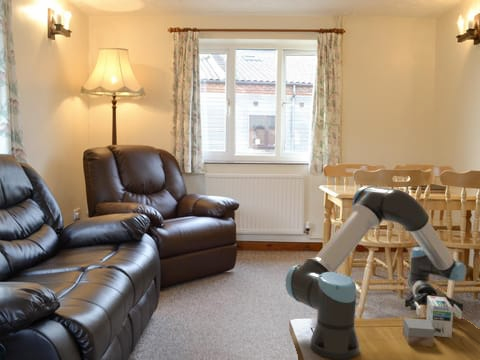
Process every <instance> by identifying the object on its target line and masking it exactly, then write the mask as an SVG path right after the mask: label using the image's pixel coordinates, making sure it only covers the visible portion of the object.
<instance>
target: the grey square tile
mask: <svg viewBox="0 0 480 360" xmlns="http://www.w3.org/2000/svg"><path fill="white" fill-rule="evenodd" d="M402 322H403V323H402V328H403V327H404V329H405V331H406V333H407V335H408V336H410V337H423V338H434V339H435V336H434V328H433V327H432V325H431V324H430V322H429V321H428V320H426V318H410V317H409V318H407V317H403V321H402Z"/></svg>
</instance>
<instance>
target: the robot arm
mask: <svg viewBox="0 0 480 360" xmlns="http://www.w3.org/2000/svg"><path fill="white" fill-rule="evenodd" d="M429 220H430V217H429V214H428V213H427V211H426V210H425V208H424V207H423V206H422V205H421V204H420V202H418V200H416V199H415V198H414V197H413V196H411V195H410V194H409V193H407V192H405V191H403V190H400V189H394V188H388V187H381V186H380V187H379V186H376V185H365V186H362V187H360V188H359V189H358V190H356V191H355V193H354V194H353V199H352V200H351V214H350V215H349V216H348V217H347V219H346V220H345V221H344V222H343V223H342V224H341V225H340V227H339V228H337V230H336V232H335V233H334V234H333V235H332V236H331V237H330V238H329V240H328V241H327V243H325V245H323V247H322V248H321V250H320V251H319V252H318V253H317V254H316V255H315V257H309V258H307V259H306V261H304V263H303V264H295V265H293V266H292V267H291V268H289V270H288V272H287V274H286V275H285V285H284V286H285V290H286V293H287V294H288V295H289V296H290V297H291V298H293V300H295V301H296V302H298V303H302V304H304V305H306V306H308V307H310V308H312V309H314V310H316V312H317V315H316V318H317V319H316V325H315V328H314V330H313V332H312V336H311V338H310V349H311V350H312V351H313V352H314V353H315V354H317V355H318V356H320V357H323V358H326V359H330V360H349V359H353V358H356V357H357V356H358V355H359V352H360V342H359V340H358V335H357V332H356V329H355V320H356V319H355V318H356V317H355V316H356V305H357V288H356V287H357V286H356V283H355V281H354V280H353V278H351V277H350V276H348V275H345V274H343V273H340V272H339V273H338V272H337V271H338V270H339V269H340V267H341V266H342V265H343V263H344V262H345V261H346V260H347V258H348V257H349V256H350V255H351V253H352V252H353V251H354V250H355V248H356V247H357V246H358V245H359V244H360V243H361V241H362V240H363V239H364V237H365V236H366V235H367V233H369V231H370V230H371V229H375V228H377V227H379V226H380V225H381V223H382V222H383V221H388V222H393V223H396V224H397V225H398V224H399V225H400V226H401V227H402V228H403V229H404V230H405V231H407V232H409V233H410V235H412V237H413V239H414V240H415V241H416V242H417V244H418V245H419V246H415V247H412V249H411V253H410V269H409V275H408V277H407V285H408V287H409V289H410V290H411V292H410V293H409V296H407V297H406V298H405V300H404V307H406V308H409V307H410V308H409V309H410V311H415V313H416V314H417V316H419V317H421V314H422V313H421V311H422V310H421V306H427V296H435V297H441V296H440V295H438V293H437V291H436V289H435V288H434V287H433V286H432V285H431V283H430V275H433V276H436V277H439V278H443V279H444V280H449V281H453V282H456V283H457V282H460V283H461V282H462V281H463V280H464V279H465V277H466V276H467V267H466V265H465V263H463V262H460V261H456V260H455V259H454V258H453V255H452V254H451V253H450V251H449V249H448V248H447V247H446V245H445V243H444V242H443V241H442V239H441V238H440V236H439V235H438V233H437V231H436V230H435V228H434V227H433V226H432V223H430V221H429ZM443 297H446V298H447V300H448V302H449V303H450V304H451V306H452V307H453V314H455V316H456V318H457V319H458V320H461V319H462V316H463V315H462V314H463V311H464V303H462V302H459V301H457V300H455V299H453V298H451V297H449V296H448V295H446V294H445V295H443ZM420 305H421V306H420Z"/></svg>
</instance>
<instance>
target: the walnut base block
mask: <svg viewBox="0 0 480 360" xmlns="http://www.w3.org/2000/svg"><path fill="white" fill-rule="evenodd" d="M402 336H403V338H404V339H405V341H406V343H407V345H408V346H409V345H411V346H422V347H424V346H426V347H434V345H435V337H434V338H423V337H410V336H408V335H407V333H406V331H405V329H404V327H403V326H402Z"/></svg>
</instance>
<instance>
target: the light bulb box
mask: <svg viewBox="0 0 480 360" xmlns="http://www.w3.org/2000/svg"><path fill="white" fill-rule="evenodd" d="M425 313H426V314H425V315H426V316H425V320H428V321H429V322H430V324H431V325H432V327H433V328H434V337H442V338H452V336H453V335H452V334H453V322H454V321H453V317H454V312H453V307H452V306H451V304H450V303H449V302H448V300H447V298H446V297H444V296H440V297H435V296H427V305H426V312H425Z"/></svg>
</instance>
